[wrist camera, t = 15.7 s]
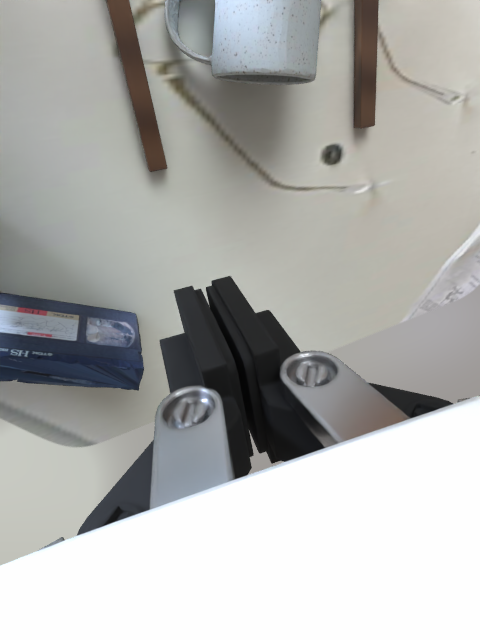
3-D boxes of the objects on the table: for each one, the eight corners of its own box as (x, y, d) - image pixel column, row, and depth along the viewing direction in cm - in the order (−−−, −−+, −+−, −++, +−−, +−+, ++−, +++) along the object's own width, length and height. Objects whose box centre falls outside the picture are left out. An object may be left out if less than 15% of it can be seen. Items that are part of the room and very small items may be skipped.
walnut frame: (368, 124, 38) (375, 125, 37) (148, 169, 34) (149, 172, 33) (373, -143, 29) (383, -151, 28) (75, -118, 25) (74, -127, 24)
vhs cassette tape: (138, 312, 40) (146, 368, 32) (131, 337, 42) (138, 398, 33) (-85, 274, 33) (-148, 334, 25) (-85, 305, 34) (-146, 373, 26)
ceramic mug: (301, -40, 30) (351, -76, 24) (291, 85, 34) (332, 83, 28) (159, -57, 28) (172, -103, 21) (166, 80, 32) (179, 76, 25)
